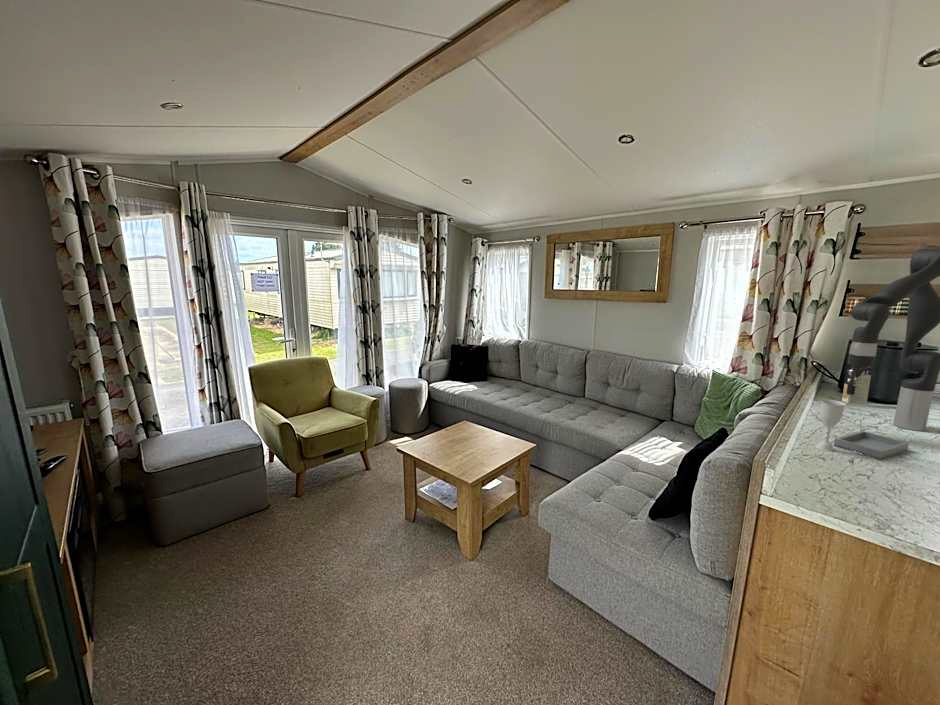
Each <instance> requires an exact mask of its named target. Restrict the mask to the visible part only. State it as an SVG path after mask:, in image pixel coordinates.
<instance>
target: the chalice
mask: <svg viewBox="0 0 940 705" xmlns="http://www.w3.org/2000/svg"><path fill="white" fill-rule="evenodd" d="M820 403H821V405H820V410H819V413H820V418H821V420H822V423H823V425H824V426H826V429H825V430H824V432H825V434H823V437H824V440H821V441H819V442H818V443H817V445H816V446H815V447H816V448H817V449H819V450H821V451H825V452H834V451H835V449H834V446H833V444H832V443H831V442H830V441H829V439H830V438H831V435H830V433H831V428H833V427H835V426H836V425H837V424H838V423H839V422H840V421H841V420H842V417H843V413H844V409H845V406H847V403H846V402H844V401H839V400H834V399H826V398H825V399H820Z"/></svg>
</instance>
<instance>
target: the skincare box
mask: <svg viewBox="0 0 940 705" xmlns="http://www.w3.org/2000/svg"><path fill="white" fill-rule="evenodd" d="M850 376H851V375H850ZM855 378H857V377H856V376H855ZM871 378H872V374H871V375H868V374H864V375H863V376H862V377H861V379H860V381H859V382H857V384H856V387H855V393H854V395H849V394H847V393H846V392H847V386H848V385H847V384H845V383H844V384H843V385H844V386H843V391H842V397H841V402H843V403H845V404H850V405H864V406H865V405H867V404H868V403H867V402H868V397H869V396H868V395H869V390H870V383H871ZM848 380H849V379H848ZM850 382H851V381H850Z"/></svg>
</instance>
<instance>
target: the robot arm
mask: <svg viewBox="0 0 940 705" xmlns="http://www.w3.org/2000/svg"><path fill="white" fill-rule="evenodd" d="M939 277H940V247H932V248H931V247H927V248H926V247H925V248H919V249H917V250H915V251H914V252H913V254H912V256H911V257H910V262H909V275H906V276H903V277H900V278H899V279H896V280H894V281H892V282H890V283H889V284H887V285H885V287H883V288H882V289H881V290H879V291H878V292H877V293H876V294H873V295H871V296H869V297H867V298H865V299H863V300H861V301H859V302H858V303H856V304H855V305H854V306H853V307H852V309H851V313H850V315H851V317H852V318H853V319H854V320H856V321H861V322H867V323H866V325H865V326H858V327H856V328H855V329H854V330H853V335H852V341H851V344H850V347H849V352H848V358H847V364H848V365H850V366H851V369H846V370H845V372H846V373H845V376H844V384H847V385H848V386H847V392H846V393H847V394H849V395H854V393H855V387H856V384H857V382H859V381H860V379H861V377H862V376H863V375H864V374H868V375H871V376H872V372H873V367H874V366H875V362H876V359H877V358H876V357H877V351H878V343H879V342H878V340H879V336H880V332H881V331H882V329H883V328H884V325H885V324H886V322H887V320H888V318H889V317H890V313H891V312H890V309H889V308H892V307H895V306H896V305H898V304H900V302H902V301H903V300H904V299H905V298H907V297H908V296H909V300H908V308H907V317H906V331H905V337H904V342H903V347H902V352H901V357H900V368H901V369H902V370H904V371H905V372H912V373H920V374H923V375H922V377H918V378H907V379H903V380H902V381H901V385H900V390H899V394H898V398H897V404H896V408H895V414H894V418H893V423H892V424H893V426H895V427H898V428H900V429H905V430H910V431H915V432H916V431H917V432H922V431H923V432H924V431H926V428H927V424H928V419H929V415H930V410H931V407H932V401H933V397H934V394H935V393H934V392H935V388H936V385H937V381H938V377H939V374H940V352H937V351H929V350H928V351H927V350H918V346H919V343H920V341H921V340H922V339H923V338H924V337H925V336H926V335H927V334H929V333H930V332H931V331H932V330H934V329H935V328H937V326H939V324H940V295H939V294H938V292H936V290H935V289H934V287H933V285H932V284H931V282H932V281H934V280H936V279H937V278H939ZM850 375H851V376H850ZM855 376H856V377H857V378H855ZM848 379H849V380H848ZM850 381H851V382H850Z"/></svg>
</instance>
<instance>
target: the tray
mask: <svg viewBox="0 0 940 705" xmlns="http://www.w3.org/2000/svg"><path fill="white" fill-rule="evenodd" d="M909 445H910V442H907V441H903V440H899V439H896V438H891V437H888V436H884V435H880V434H877V433H873V432H869V431H865V430H860V431H857V432H853V433H849V434H846V435H842V436H839V437H835V438H834V442H833V447H836V448H839V447H840V448H839V449H842V448H844V449H843V450H846V449H848V450H847V451H849V450H852V451H856V452H859V453H862V454H865V455H868V456H870V457H869V458H871V457H873V458H872V459H875V458H876V460H878V461H882V460H884V459H887V458H890V456H891V457H893V456H897V455H900V454H902V453H905V452H908V449H909ZM852 451H851V452H852ZM859 453H858V454H859ZM862 454H861V455H862ZM865 455H864V456H865ZM868 456H867V457H868Z"/></svg>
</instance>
